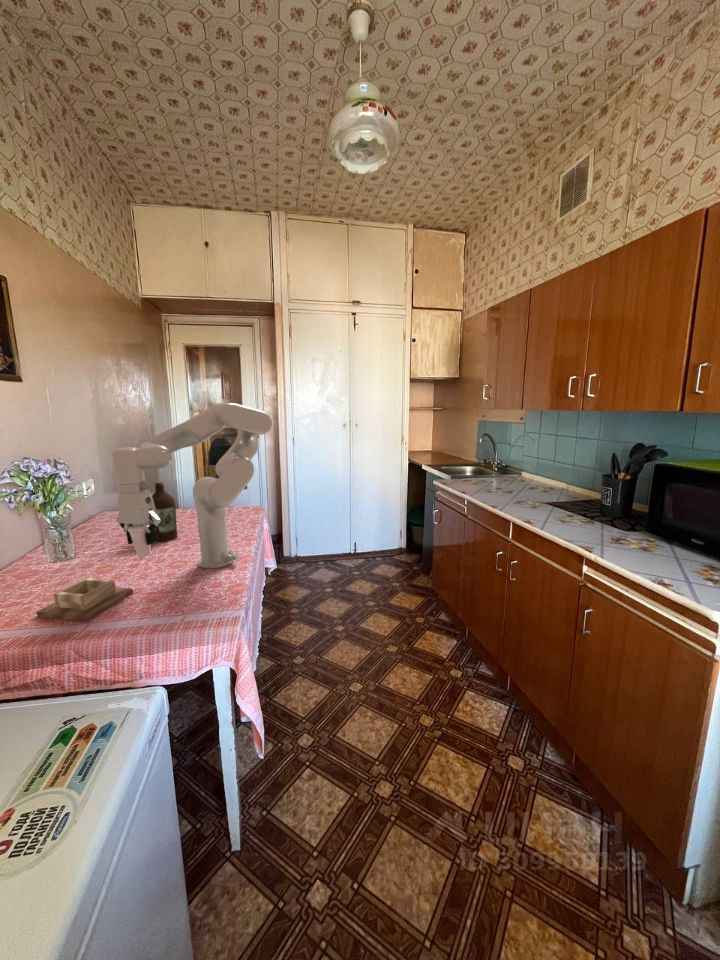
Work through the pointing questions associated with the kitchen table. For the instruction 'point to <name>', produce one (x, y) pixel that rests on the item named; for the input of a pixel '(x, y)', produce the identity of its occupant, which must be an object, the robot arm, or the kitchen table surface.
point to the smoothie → (139, 540)
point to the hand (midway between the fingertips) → (142, 542)
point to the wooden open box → (85, 600)
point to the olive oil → (164, 514)
